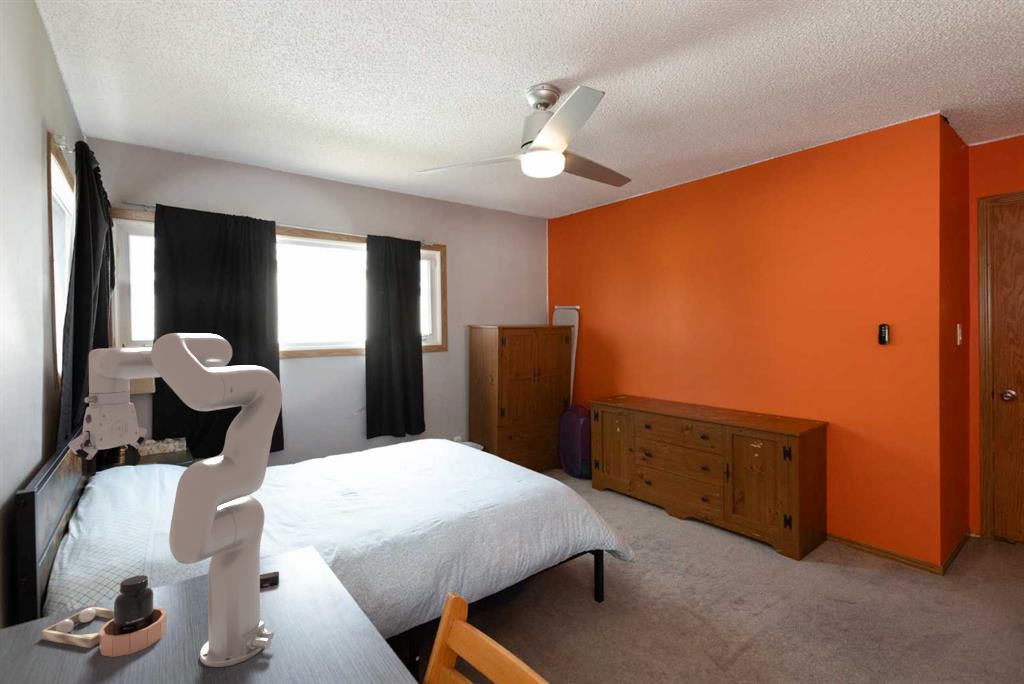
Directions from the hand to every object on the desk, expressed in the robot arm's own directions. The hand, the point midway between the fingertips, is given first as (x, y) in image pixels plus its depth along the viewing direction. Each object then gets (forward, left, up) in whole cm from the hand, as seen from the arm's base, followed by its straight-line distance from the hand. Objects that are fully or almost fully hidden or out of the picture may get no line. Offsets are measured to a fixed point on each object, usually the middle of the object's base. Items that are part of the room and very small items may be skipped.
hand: (110, 470), depth 116 cm
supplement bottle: (-16, +7, -34) cm, 38 cm away
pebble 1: (+1, +9, -34) cm, 35 cm away
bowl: (-16, +8, -34) cm, 39 cm away
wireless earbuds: (-28, -17, -35) cm, 48 cm away
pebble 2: (+1, +5, -34) cm, 34 cm away
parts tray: (-3, +7, -34) cm, 35 cm away
